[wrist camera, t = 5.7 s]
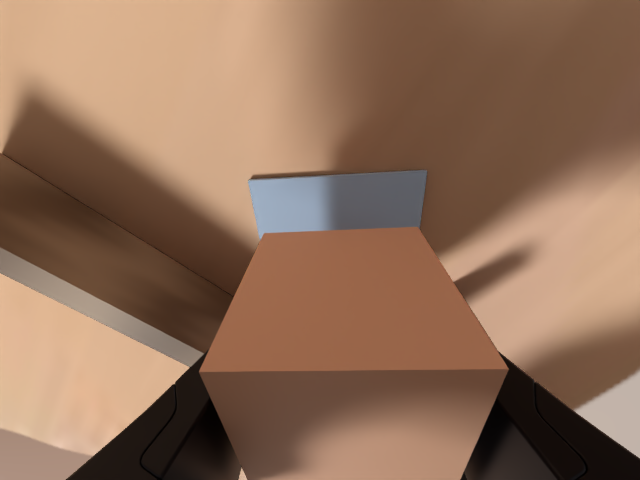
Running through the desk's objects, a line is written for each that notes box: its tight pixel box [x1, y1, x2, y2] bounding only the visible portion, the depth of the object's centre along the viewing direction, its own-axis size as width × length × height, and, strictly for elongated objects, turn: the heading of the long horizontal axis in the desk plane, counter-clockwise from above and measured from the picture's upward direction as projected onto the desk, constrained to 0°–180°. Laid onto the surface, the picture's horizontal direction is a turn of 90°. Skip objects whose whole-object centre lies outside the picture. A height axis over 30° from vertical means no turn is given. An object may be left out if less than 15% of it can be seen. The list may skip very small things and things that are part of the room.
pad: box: [248, 170, 427, 240], centre depth 12 cm, size 7×7×1 cm
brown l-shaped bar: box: [0, 153, 498, 367], centre depth 11 cm, size 20×9×4 cm, turn 49°
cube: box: [199, 227, 509, 480], centre depth 8 cm, size 5×5×5 cm
